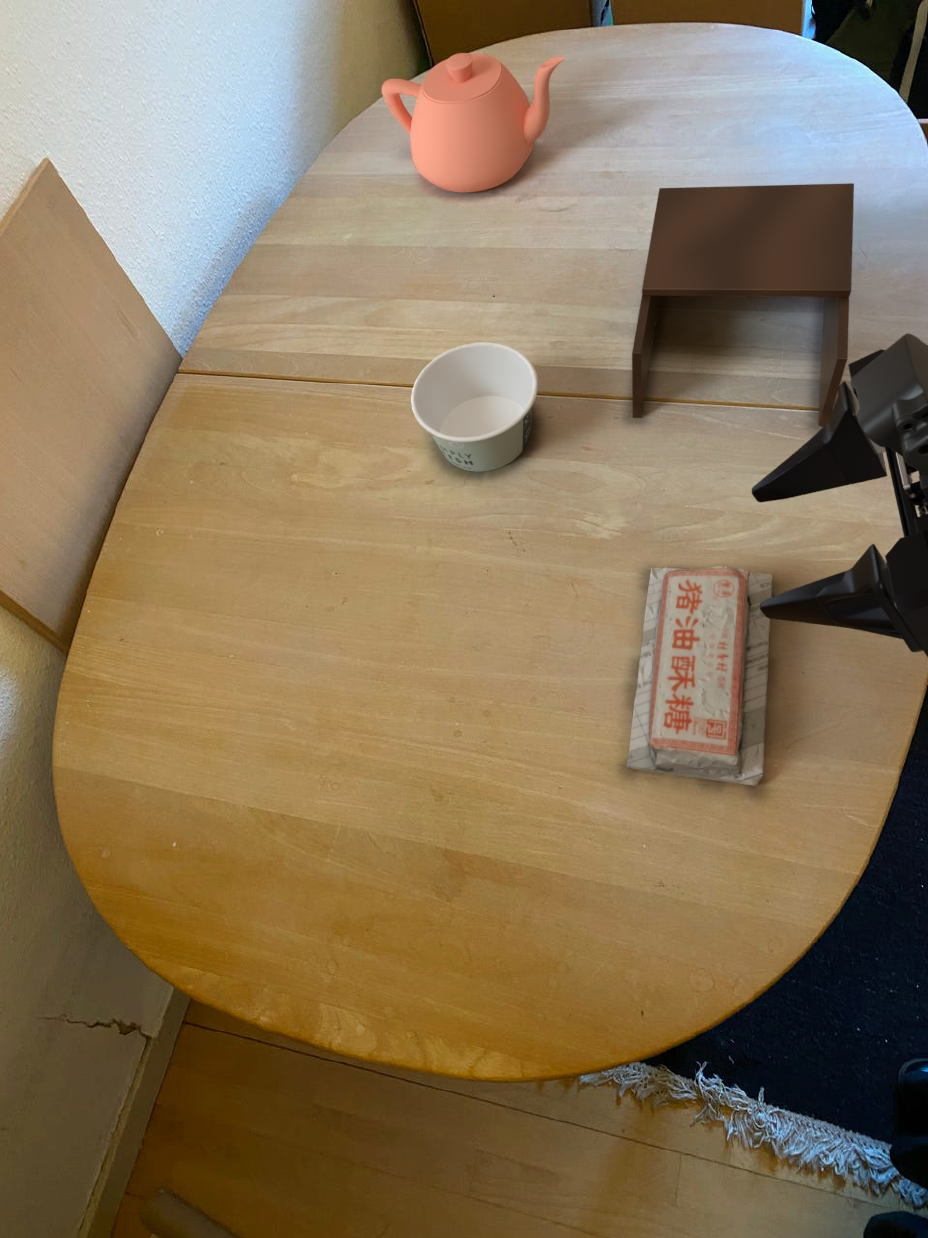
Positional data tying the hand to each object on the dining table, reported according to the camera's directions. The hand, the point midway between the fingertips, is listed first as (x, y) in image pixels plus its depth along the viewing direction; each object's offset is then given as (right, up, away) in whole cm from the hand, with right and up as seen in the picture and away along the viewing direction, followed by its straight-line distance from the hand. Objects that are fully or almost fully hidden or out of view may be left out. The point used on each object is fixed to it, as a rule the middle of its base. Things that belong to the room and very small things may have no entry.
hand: (758, 550), depth 49 cm
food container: (-15, +14, +34) cm, 40 cm away
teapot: (-15, +52, +54) cm, 77 cm away
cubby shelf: (+10, +23, +33) cm, 42 cm away
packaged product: (+2, -9, +18) cm, 20 cm away
